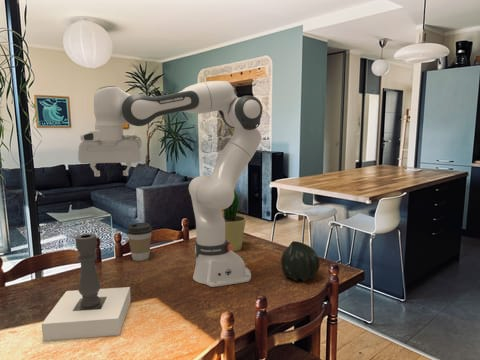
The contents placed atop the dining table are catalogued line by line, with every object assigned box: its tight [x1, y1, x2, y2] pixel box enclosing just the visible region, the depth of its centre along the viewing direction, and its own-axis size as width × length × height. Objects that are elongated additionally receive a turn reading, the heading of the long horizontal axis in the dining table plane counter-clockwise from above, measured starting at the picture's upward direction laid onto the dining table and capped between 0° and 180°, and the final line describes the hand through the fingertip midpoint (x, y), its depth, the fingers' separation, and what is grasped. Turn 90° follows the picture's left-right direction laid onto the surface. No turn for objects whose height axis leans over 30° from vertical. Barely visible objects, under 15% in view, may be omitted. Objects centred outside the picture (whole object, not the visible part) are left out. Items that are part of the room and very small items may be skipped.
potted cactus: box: [222, 189, 247, 252], centre depth 171 cm, size 15×15×30 cm
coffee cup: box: [125, 222, 154, 262], centre depth 159 cm, size 11×11×15 cm
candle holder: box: [75, 233, 102, 311], centre depth 107 cm, size 6×6×25 cm
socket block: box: [41, 286, 131, 342], centre depth 108 cm, size 20×20×5 cm
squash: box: [280, 240, 320, 282], centre depth 138 cm, size 14×15×15 cm
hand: (111, 176), depth 123 cm, fingers open, 8 cm apart
